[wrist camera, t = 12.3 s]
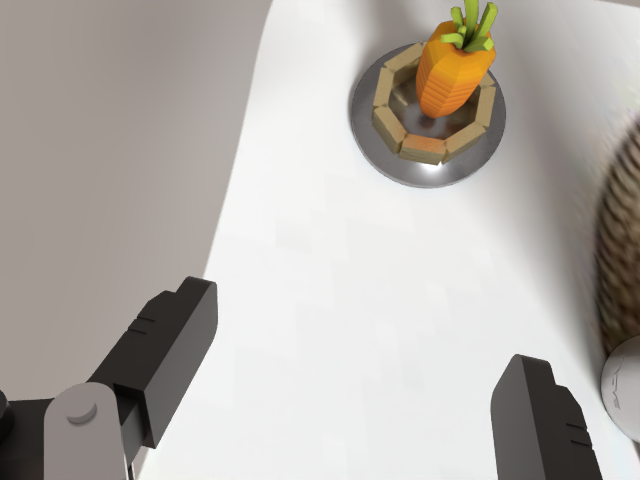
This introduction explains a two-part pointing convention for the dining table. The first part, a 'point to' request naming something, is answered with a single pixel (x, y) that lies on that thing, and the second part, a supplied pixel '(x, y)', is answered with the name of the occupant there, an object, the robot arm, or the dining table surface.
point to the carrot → (455, 60)
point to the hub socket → (423, 125)
